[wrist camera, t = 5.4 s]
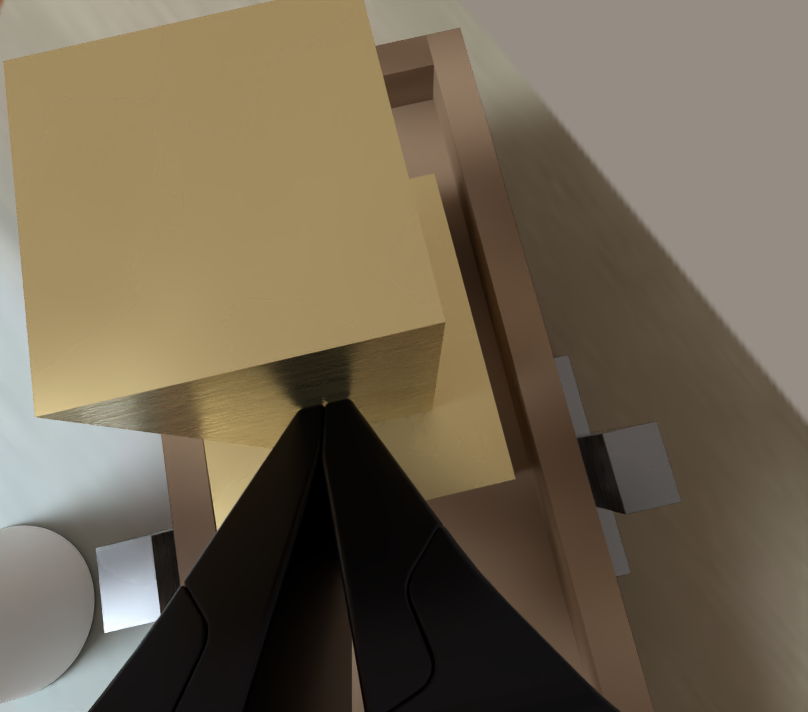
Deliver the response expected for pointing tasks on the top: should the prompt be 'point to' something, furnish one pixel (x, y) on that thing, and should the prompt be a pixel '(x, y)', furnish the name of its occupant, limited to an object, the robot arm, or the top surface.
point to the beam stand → (604, 463)
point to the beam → (512, 389)
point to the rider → (242, 246)
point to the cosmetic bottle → (40, 608)
